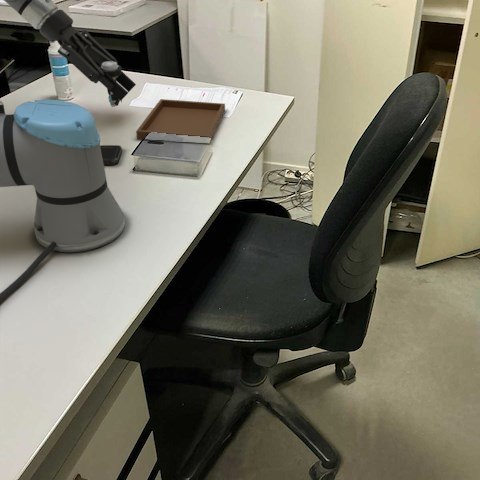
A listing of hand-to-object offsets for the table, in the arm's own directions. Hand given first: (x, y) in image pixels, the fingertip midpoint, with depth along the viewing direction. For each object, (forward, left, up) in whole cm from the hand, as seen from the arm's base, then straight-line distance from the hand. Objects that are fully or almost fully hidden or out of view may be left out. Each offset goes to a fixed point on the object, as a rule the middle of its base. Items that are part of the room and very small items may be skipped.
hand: (128, 92), depth 138 cm
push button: (0, +4, -3) cm, 5 cm away
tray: (0, -13, -8) cm, 15 cm away
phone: (-22, +4, -8) cm, 24 cm away
